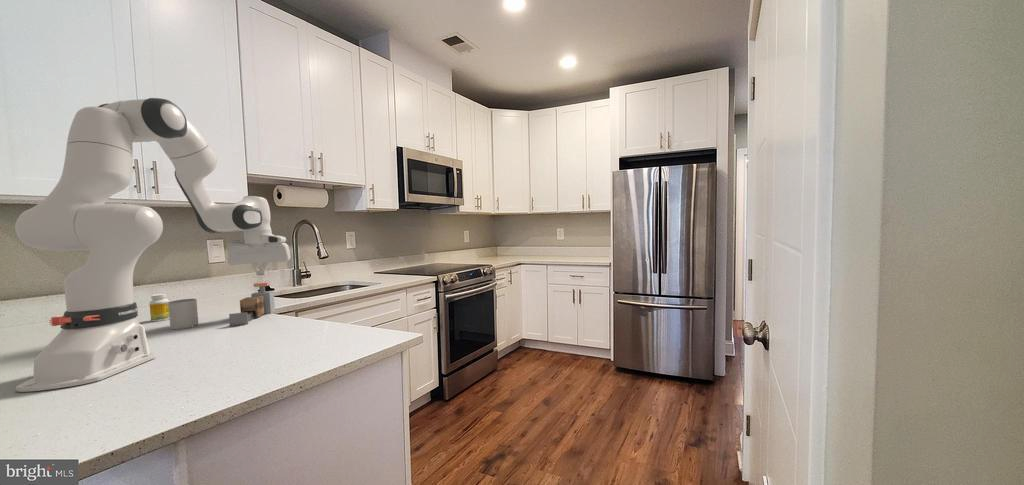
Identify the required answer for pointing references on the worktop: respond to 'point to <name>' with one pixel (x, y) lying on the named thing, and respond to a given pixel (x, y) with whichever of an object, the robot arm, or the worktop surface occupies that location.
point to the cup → (183, 313)
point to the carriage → (252, 305)
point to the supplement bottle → (159, 308)
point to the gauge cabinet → (266, 301)
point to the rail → (241, 317)
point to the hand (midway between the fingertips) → (261, 275)
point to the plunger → (262, 286)
